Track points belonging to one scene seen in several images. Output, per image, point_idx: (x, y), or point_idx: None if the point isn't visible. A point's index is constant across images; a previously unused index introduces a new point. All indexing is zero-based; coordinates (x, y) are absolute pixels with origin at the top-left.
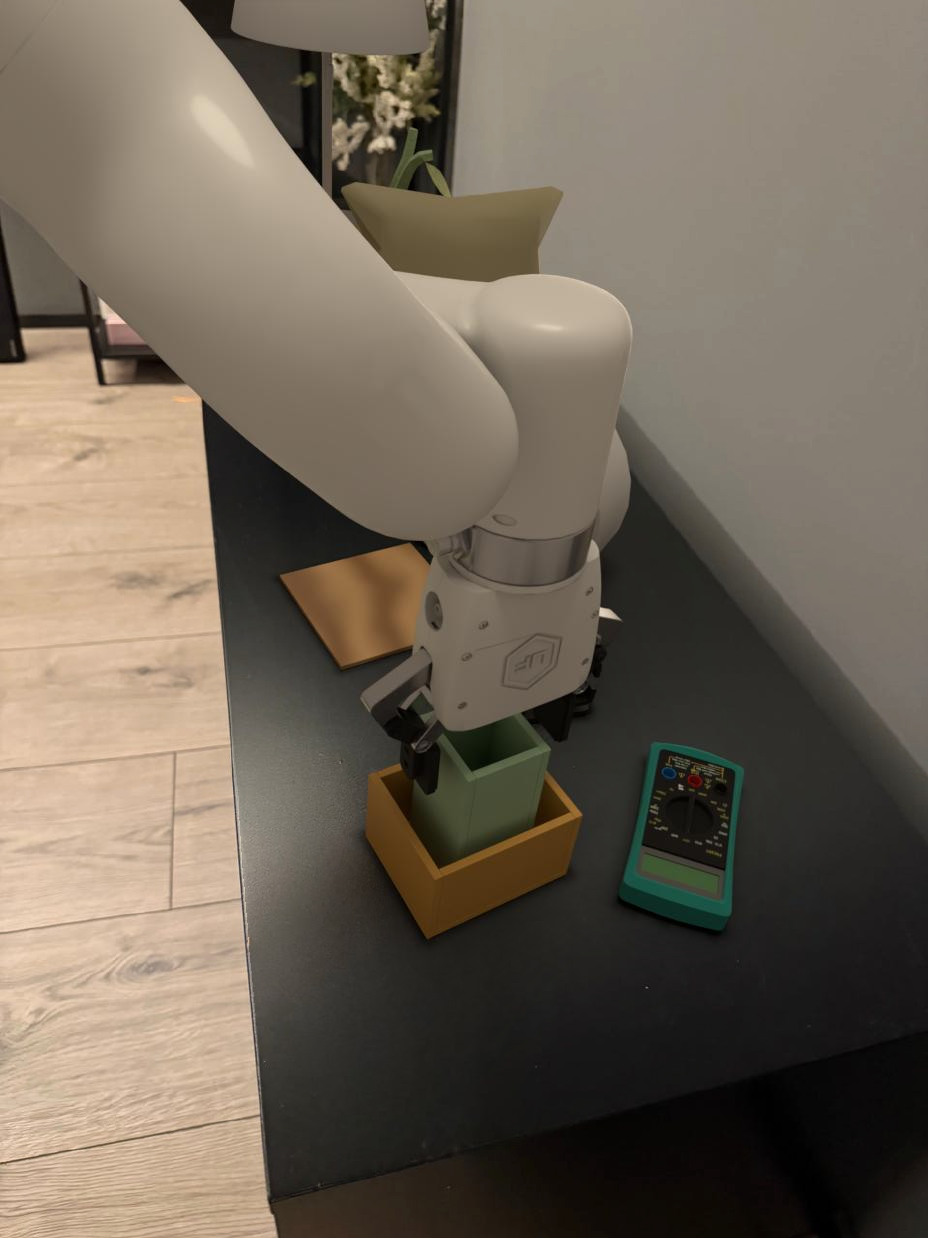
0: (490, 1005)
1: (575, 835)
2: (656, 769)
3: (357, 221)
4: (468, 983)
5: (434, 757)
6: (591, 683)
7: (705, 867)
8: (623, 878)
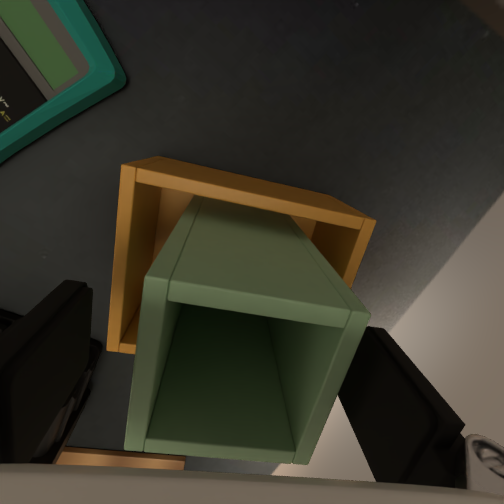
0: (338, 96)
1: (139, 161)
2: None
3: None
4: (335, 131)
5: (445, 407)
6: None
7: None
8: (110, 83)
